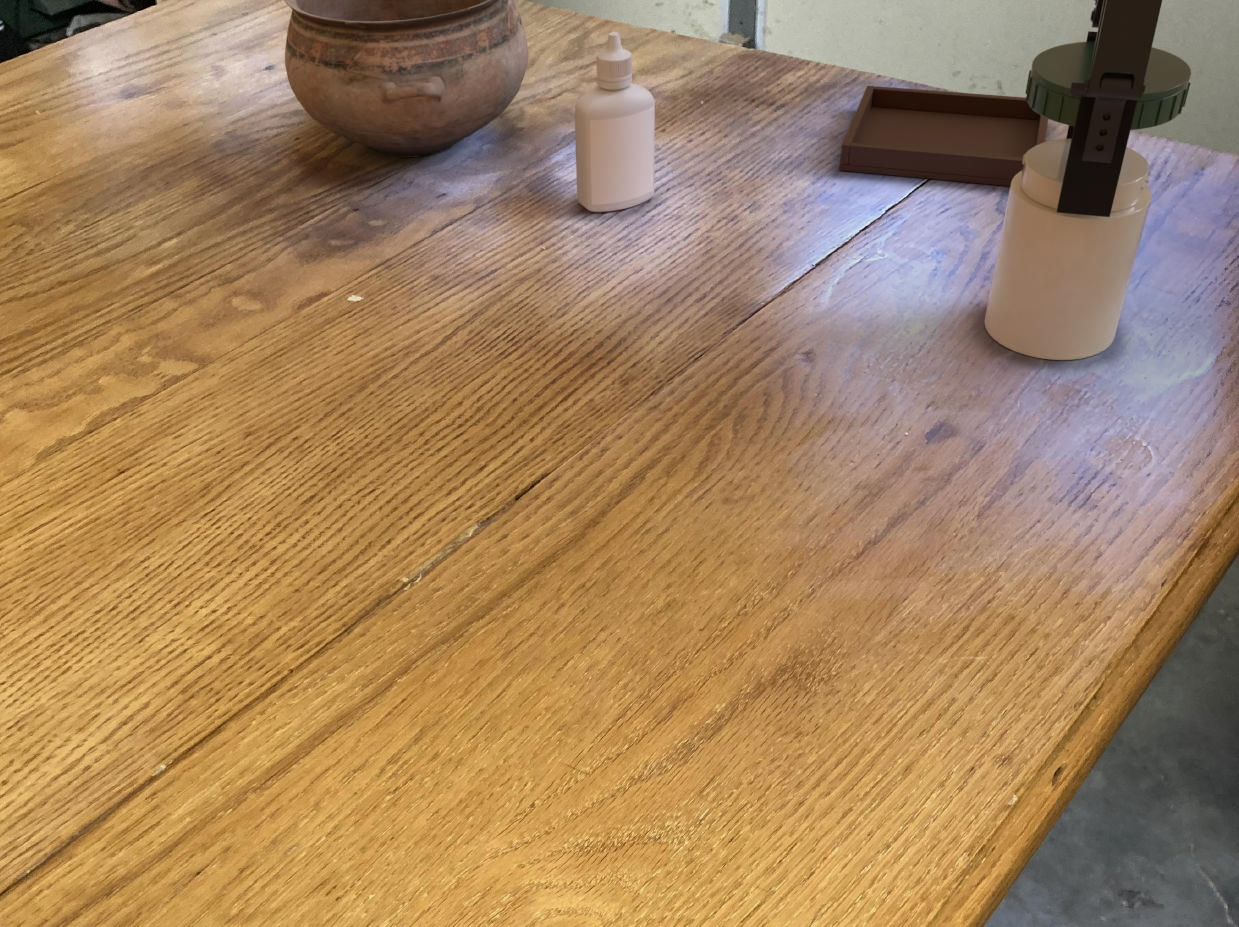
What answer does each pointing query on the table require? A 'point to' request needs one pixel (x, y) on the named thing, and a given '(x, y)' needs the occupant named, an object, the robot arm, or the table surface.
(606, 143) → the eye dropper bottle
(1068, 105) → the jar lid
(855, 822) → the table surface
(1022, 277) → the jam jar
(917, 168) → the tray
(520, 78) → the cooking pot
